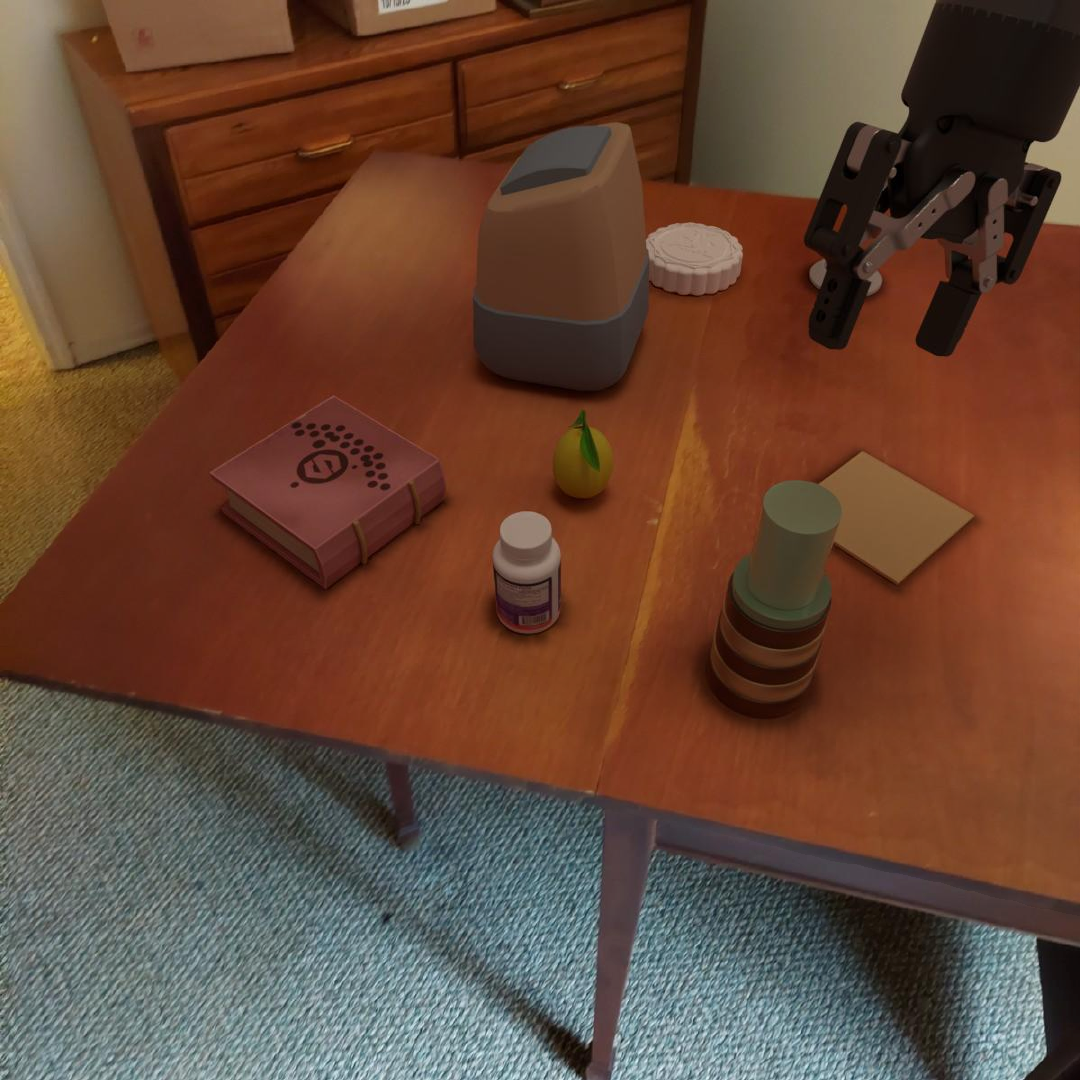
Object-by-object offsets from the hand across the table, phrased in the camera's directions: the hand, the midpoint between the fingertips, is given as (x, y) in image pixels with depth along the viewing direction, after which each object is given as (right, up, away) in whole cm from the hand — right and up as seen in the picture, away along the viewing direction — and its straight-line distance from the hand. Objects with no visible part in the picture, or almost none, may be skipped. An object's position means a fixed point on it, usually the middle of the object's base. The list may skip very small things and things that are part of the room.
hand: (880, 348), depth 52 cm
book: (-37, -8, +36) cm, 53 cm away
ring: (+18, +21, +63) cm, 69 cm away
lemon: (-14, -6, +37) cm, 41 cm away
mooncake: (0, +22, +65) cm, 68 cm away
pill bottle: (-19, -16, +28) cm, 38 cm away
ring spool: (-1, -14, +16) cm, 21 cm away
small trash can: (-16, +10, +53) cm, 56 cm away
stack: (-1, -21, +23) cm, 31 cm away
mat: (+12, -8, +35) cm, 38 cm away
